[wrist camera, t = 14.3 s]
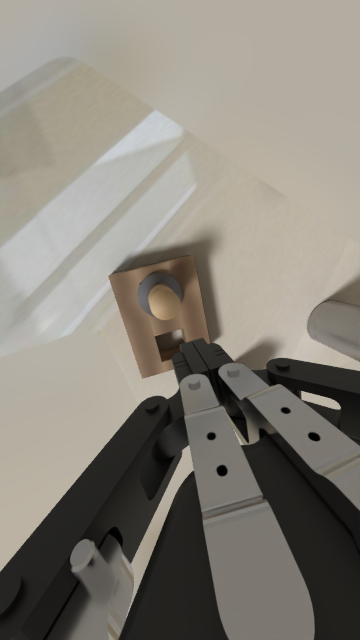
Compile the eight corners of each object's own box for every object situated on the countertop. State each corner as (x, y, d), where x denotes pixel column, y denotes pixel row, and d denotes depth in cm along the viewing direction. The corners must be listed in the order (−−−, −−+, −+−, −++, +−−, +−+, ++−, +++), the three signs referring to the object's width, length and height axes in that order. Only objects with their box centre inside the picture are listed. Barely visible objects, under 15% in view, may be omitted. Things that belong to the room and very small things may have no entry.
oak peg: (172, 266, 36) (186, 271, 25) (180, 304, 38) (196, 323, 27) (132, 276, 35) (130, 285, 24) (143, 314, 37) (146, 337, 27)
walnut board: (187, 255, 36) (193, 255, 32) (206, 348, 42) (212, 357, 38) (111, 273, 34) (108, 276, 30) (141, 367, 40) (142, 378, 36)
